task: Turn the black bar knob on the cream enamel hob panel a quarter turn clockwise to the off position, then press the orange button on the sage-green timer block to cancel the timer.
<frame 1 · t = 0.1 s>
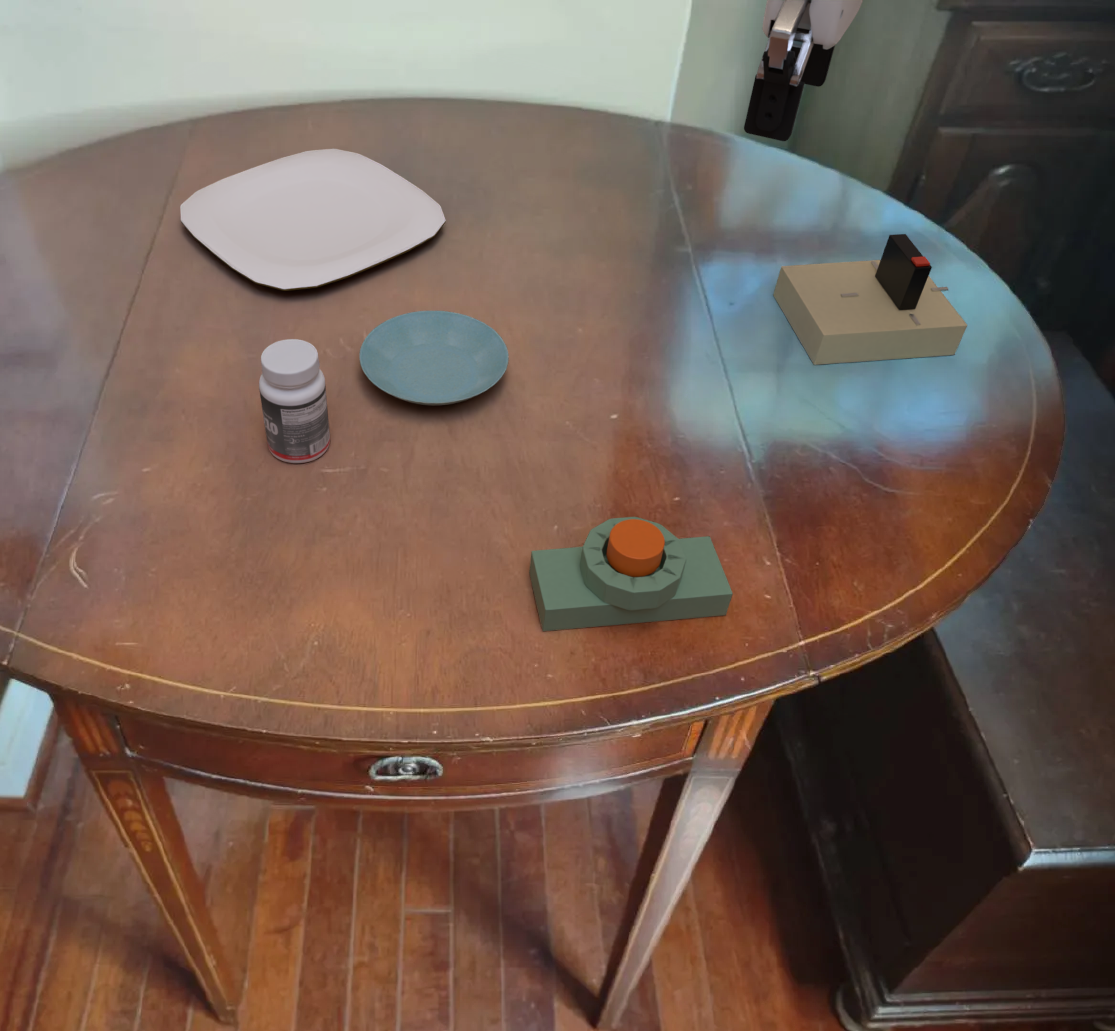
hand: (784, 107, 76), 19 cm above the table, tool pointing down, fingers open, 9 cm apart
pill bottle: (299, 446, 79), on the table
knob: (902, 270, 86), point 5 cm above the table, hinge at 90.0°
saucer: (433, 378, 85), on the table
button: (635, 547, 66), point 4 cm above the table, slide at 0.1 cm
hob panel: (860, 324, 89), on the table
timer block: (625, 593, 69), on the table
plate: (313, 228, 101), on the table
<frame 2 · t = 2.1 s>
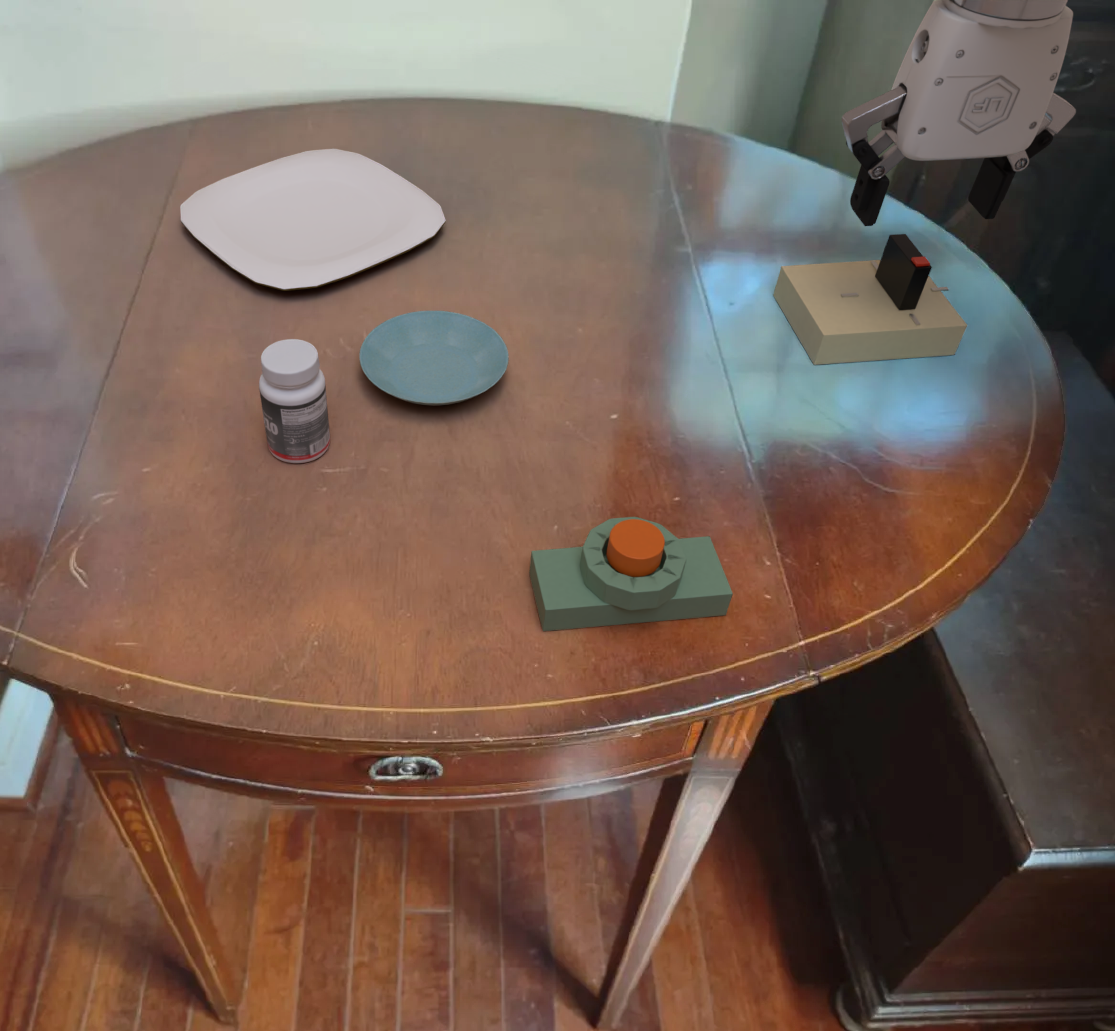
hand: (921, 213, 82), 10 cm above the table, tool pointing down, fingers open, 9 cm apart
nothing on the table moved.
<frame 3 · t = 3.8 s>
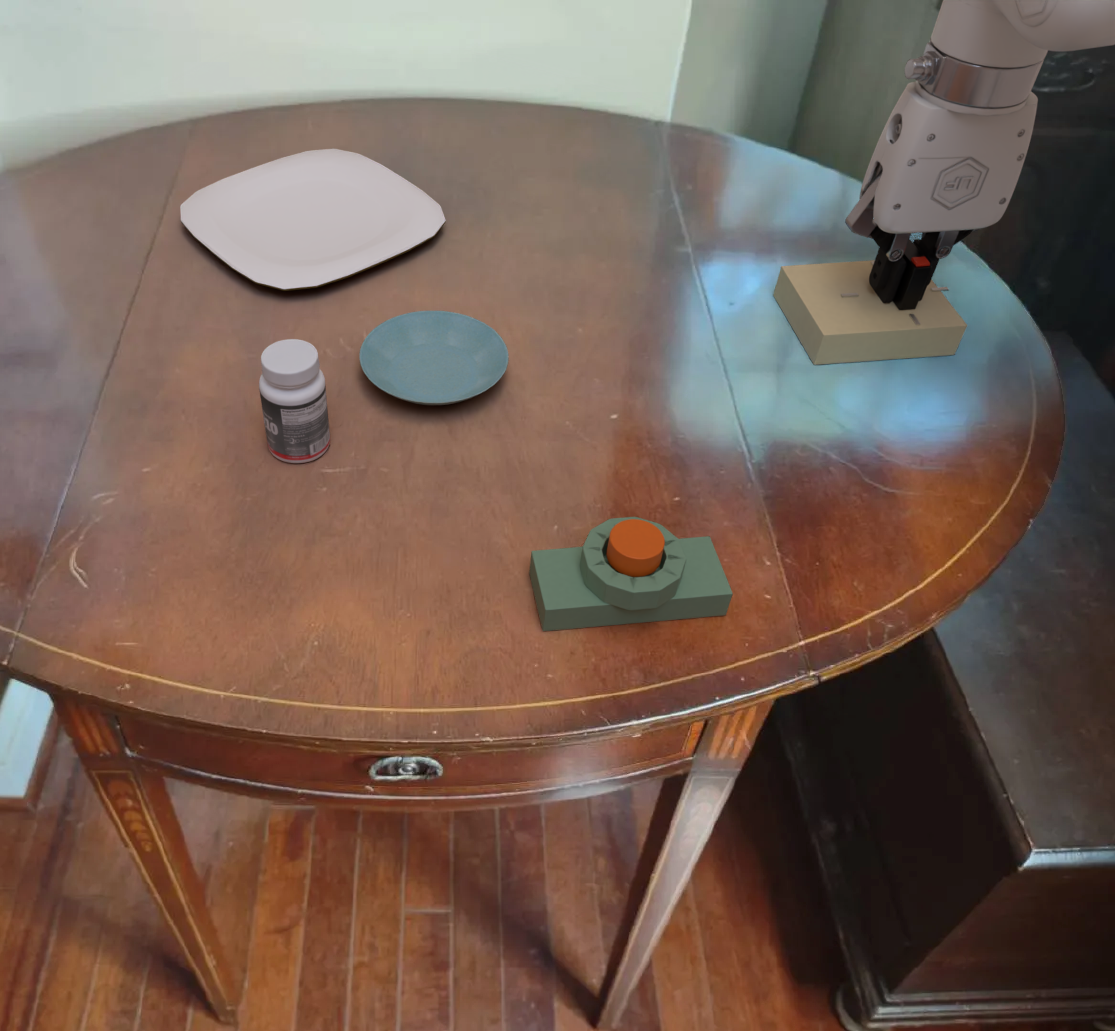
hand: (894, 291, 87), 3 cm above the table, tool pointing down, fingers closed
nothing on the table moved.
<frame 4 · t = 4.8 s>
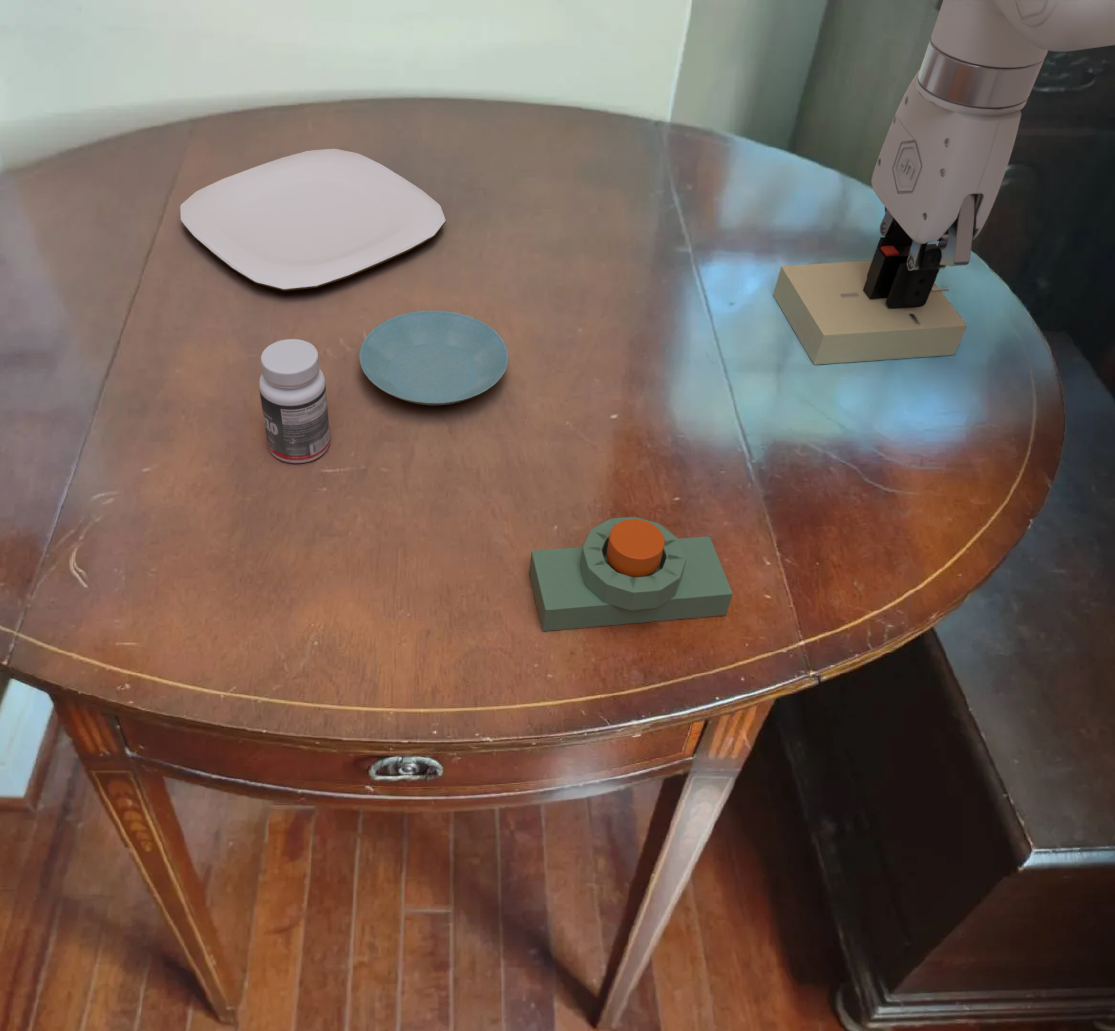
hand: (895, 290, 87), 3 cm above the table, tool pointing down, fingers open, 3 cm apart
knob: (902, 270, 86), point 5 cm above the table, hinge at 2.0°
everything else where it was.
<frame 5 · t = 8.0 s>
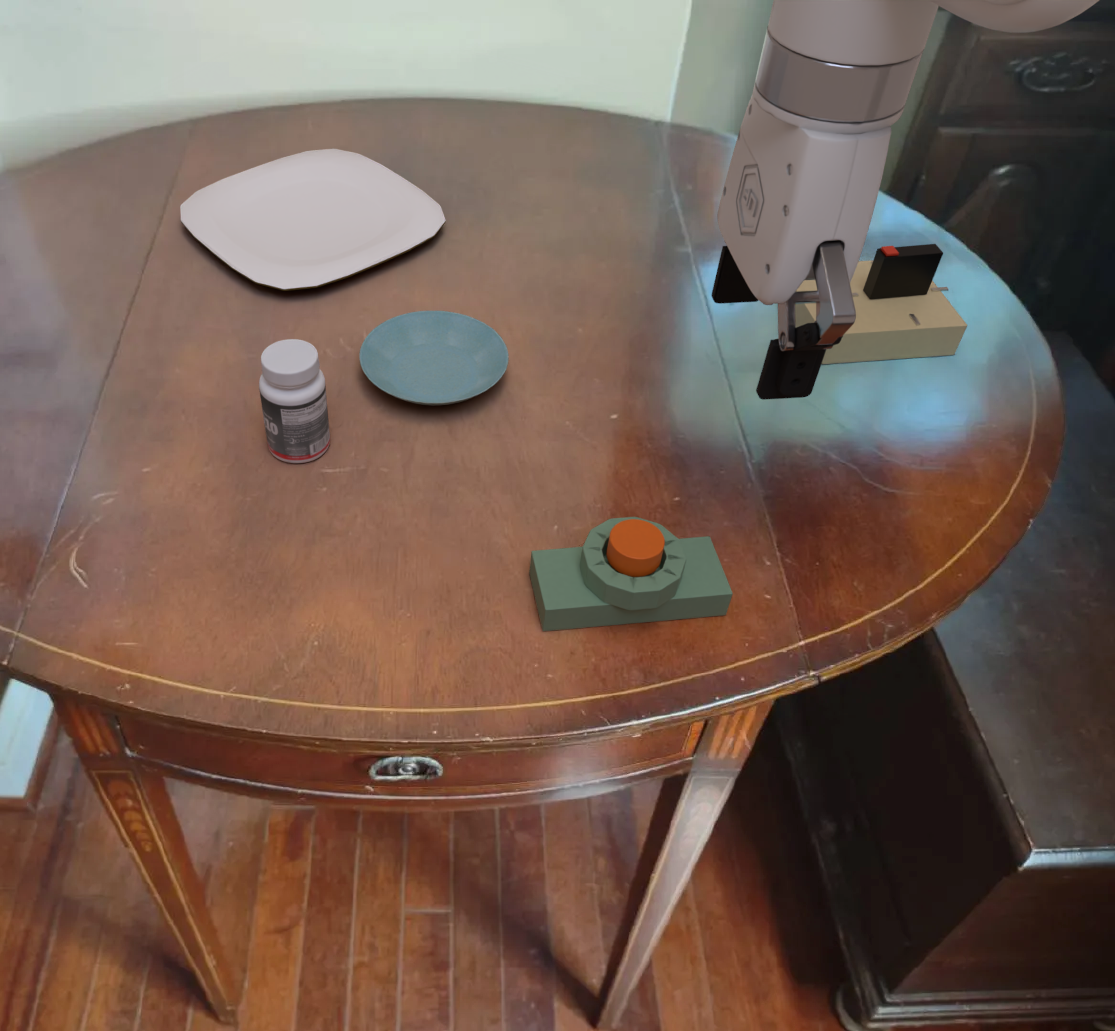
hand: (757, 345, 65), 13 cm above the table, tool pointing down, fingers open, 9 cm apart
nothing on the table moved.
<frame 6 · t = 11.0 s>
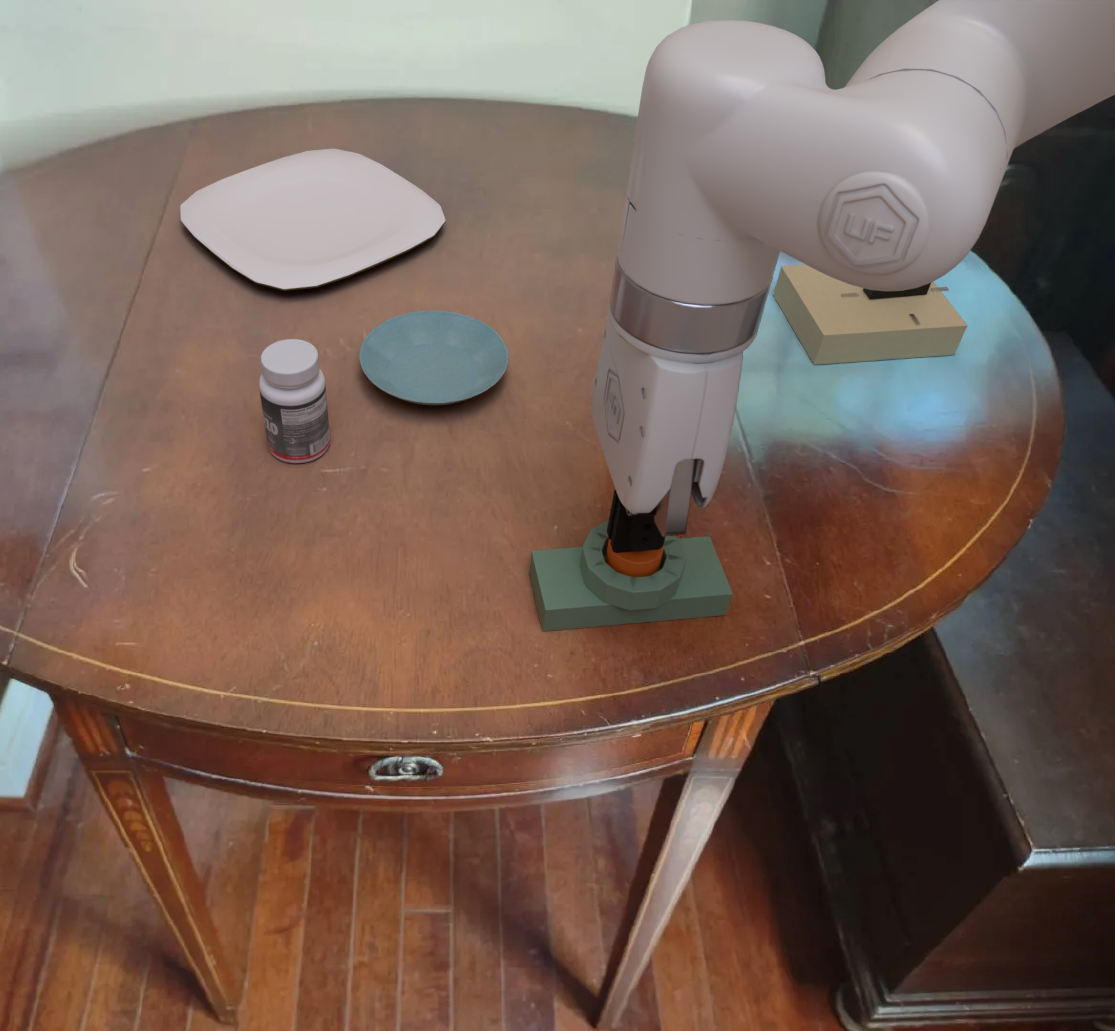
hand: (634, 541, 65), 5 cm above the table, tool pointing down, fingers closed
button: (634, 552, 66), point 4 cm above the table, slide at -0.3 cm, touching gripper
everything else where it was.
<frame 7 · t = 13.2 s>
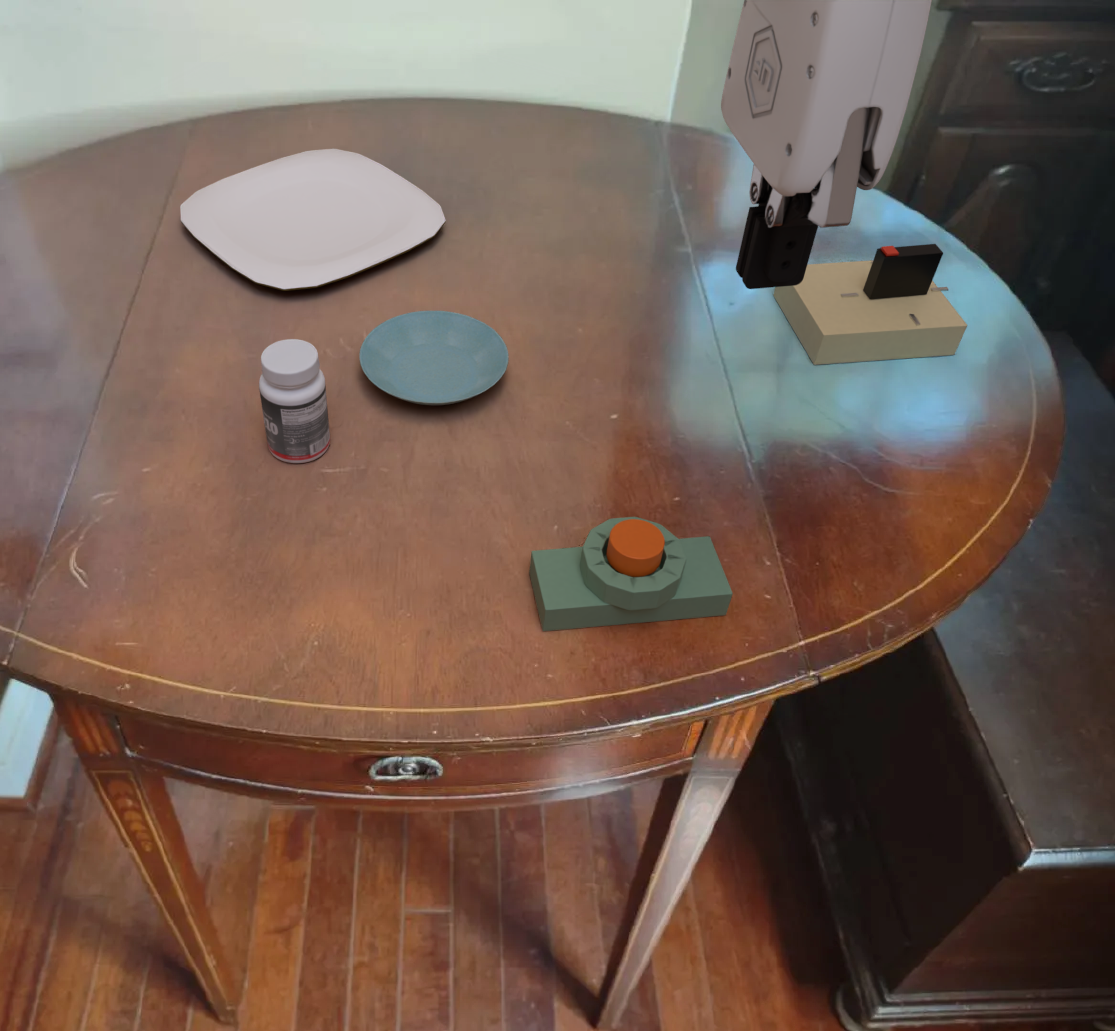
hand: (767, 278, 57), 21 cm above the table, tool pointing down, fingers closed
button: (635, 547, 66), point 4 cm above the table, slide at 0.1 cm
everything else where it was.
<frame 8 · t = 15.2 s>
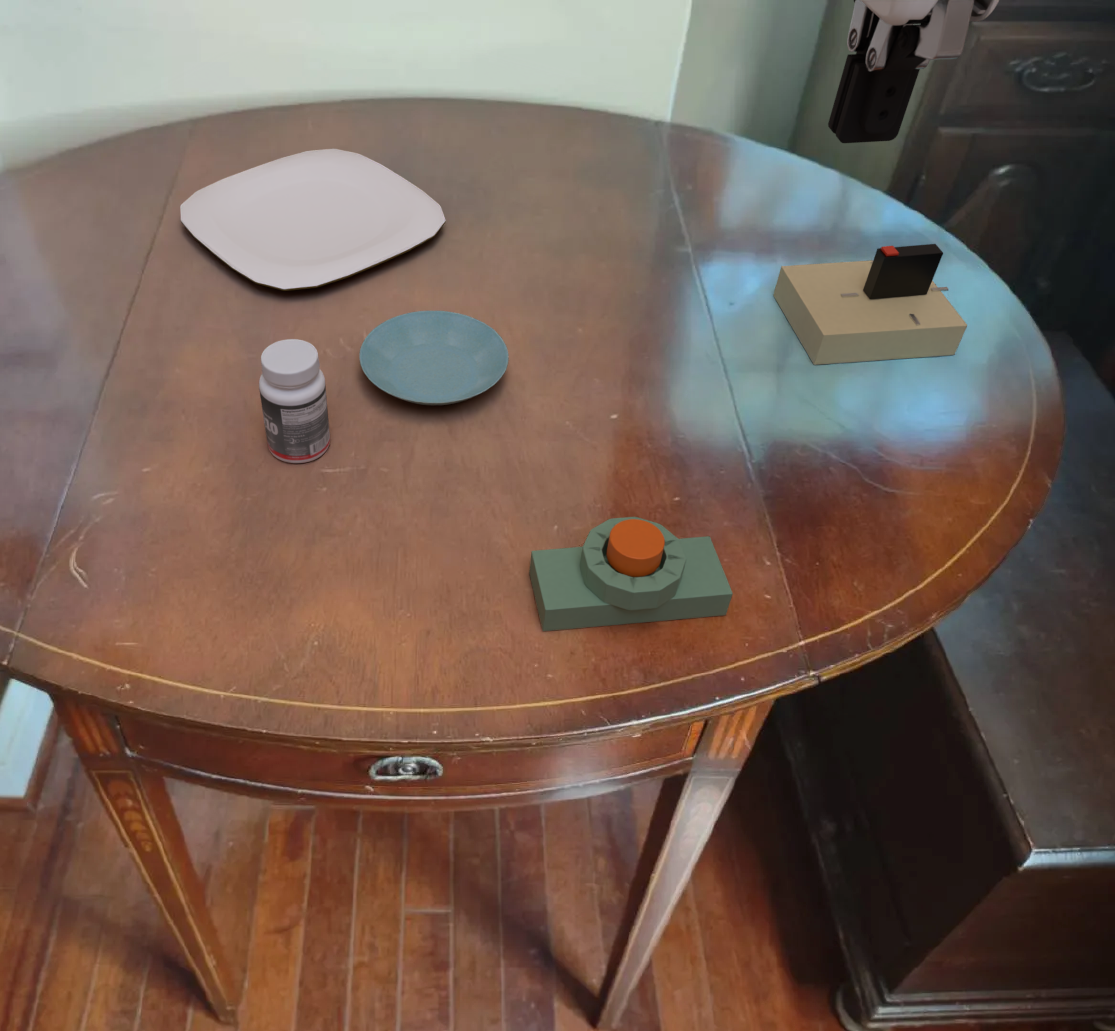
hand: (861, 134, 56), 27 cm above the table, tool pointing down, fingers closed
nothing on the table moved.
at the end: knob at +2° (first picture: +90°); button pushed in 1.1 cm at the most during the clip, back to where it started at the end; button slide at 0.1 cm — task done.
